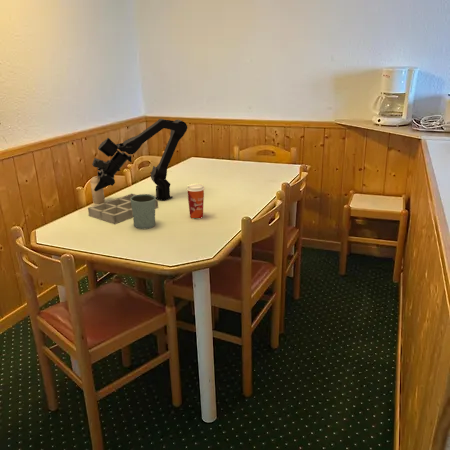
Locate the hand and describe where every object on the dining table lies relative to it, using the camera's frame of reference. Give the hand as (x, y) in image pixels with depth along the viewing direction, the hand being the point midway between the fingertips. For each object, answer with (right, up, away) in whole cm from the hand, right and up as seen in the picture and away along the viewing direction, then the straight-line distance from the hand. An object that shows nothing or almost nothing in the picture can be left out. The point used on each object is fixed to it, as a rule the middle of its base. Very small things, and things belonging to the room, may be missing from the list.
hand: (94, 189), depth 201 cm
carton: (+15, -10, -3) cm, 18 cm away
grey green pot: (+27, -17, -19) cm, 37 cm away
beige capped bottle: (+1, -6, +3) cm, 7 cm away
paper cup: (+48, -13, -10) cm, 51 cm away
